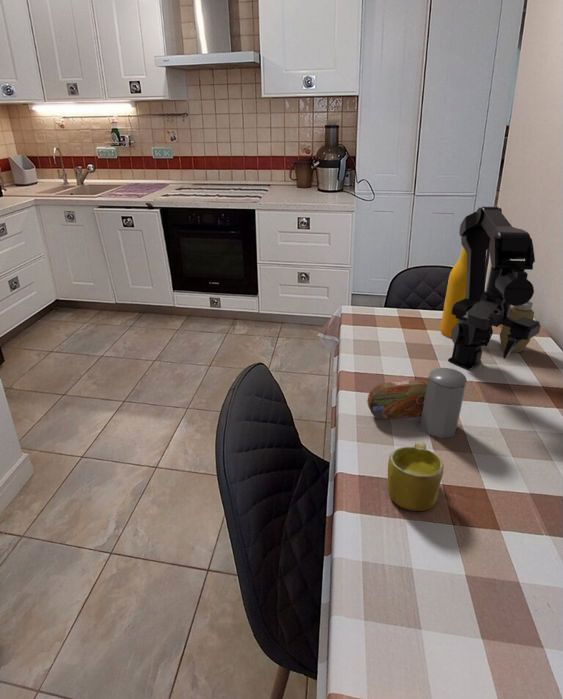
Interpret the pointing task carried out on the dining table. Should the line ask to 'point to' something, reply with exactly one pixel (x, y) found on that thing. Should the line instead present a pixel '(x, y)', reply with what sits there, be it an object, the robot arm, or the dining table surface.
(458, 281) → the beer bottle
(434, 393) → the grey domed canister
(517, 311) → the squeeze bottle
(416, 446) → the mug
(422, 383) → the tin
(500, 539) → the dining table surface
